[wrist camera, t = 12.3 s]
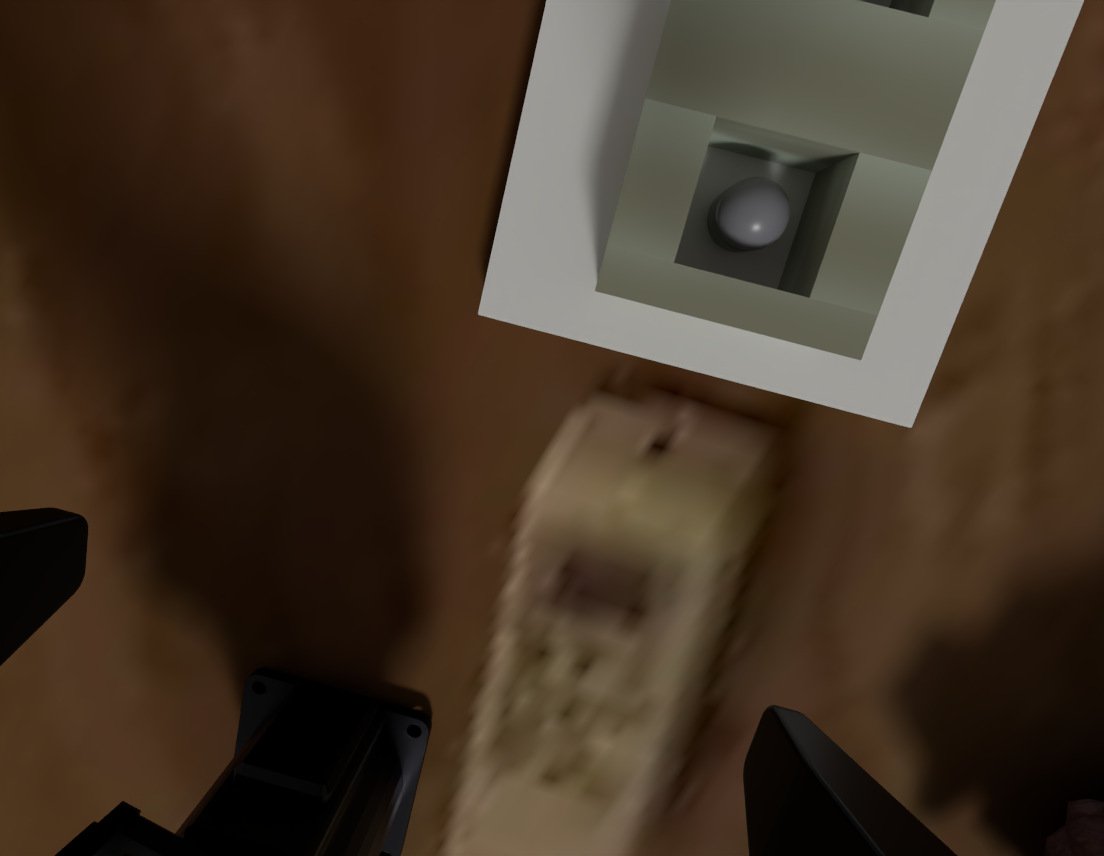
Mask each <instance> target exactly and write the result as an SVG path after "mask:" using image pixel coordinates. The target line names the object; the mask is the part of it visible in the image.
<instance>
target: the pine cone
mask: <svg viewBox="0 0 1104 856" xmlns="http://www.w3.org/2000/svg"><path fill="white" fill-rule="evenodd" d="M1045 856H1104V802H1102V801H1097V800H1092V799H1083V800H1077V801H1071V802H1068V807H1067V816H1066V825H1065V826H1063V827H1061V828H1059V829H1058V830H1057V831H1056V832H1054V833H1053V834H1051V835H1050V836H1048V837H1047V838H1046V845H1045Z"/></svg>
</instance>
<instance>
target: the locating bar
mask: <svg viewBox="0 0 1104 856" xmlns="http://www.w3.org/2000/svg"><path fill="white" fill-rule="evenodd" d="M995 2H996V0H891V3H890V6H889V8H888V7H884V6H880V5H876V4H872V3H868V2H864V1H859V0H671V3H670V6H669V10H668V14H667V18H666V22H665V25H664V29H663V33H662V37H661V41H660V44H659V48H658V52H657V56H656V60H655V64H654V67H653V71H652V75H651V79H650V83H649V86H648V90H647V94H646V98H645V102H644V105H643V109H642V113H641V117H640V121H639V124H638V128H637V132H636V136H635V140H634V144H633V147H632V151H631V155H630V159H629V163H628V166H627V170H626V174H625V178H624V182H623V185H622V189H621V193H620V197H619V201H618V204H617V208H616V212H615V216H614V220H613V224H612V227H611V231H610V235H609V239H608V243H607V246H606V250H605V254H604V258H603V262H602V265H601V269H600V273H599V277H598V281H597V285H596V288H595V291H596V292H600V293H604V294H608V295H612V296H616V297H619V298H623V299H627V300H631V301H635V302H639V303H642V304H646V305H650V306H654V307H658V308H662V309H665V310H669V311H673V312H677V313H681V314H685V315H688V316H692V317H696V318H700V319H704V320H708V321H711V322H715V323H719V324H723V325H727V326H731V327H734V328H738V329H742V330H746V331H750V332H754V333H757V334H761V335H765V336H769V337H773V338H777V339H780V340H784V341H788V342H792V343H796V344H800V345H803V346H807V347H811V348H815V349H819V350H823V351H826V352H830V353H834V354H838V355H842V356H846V357H849V358H853V359H857V360H861V359H862V357H863V354H864V351H865V349H866V346H867V343H868V341H869V338H870V335H871V333H872V330H873V327H874V325H875V322H876V319H877V317H878V314H879V311H880V309H881V306H882V303H883V301H884V298H885V295H886V293H887V290H888V287H889V285H890V282H891V279H892V277H893V274H894V271H895V269H896V266H897V263H898V261H899V258H900V255H901V253H902V250H903V247H904V245H905V242H906V239H907V236H908V234H909V231H910V228H911V226H912V223H913V220H914V218H915V215H916V212H917V210H918V207H919V204H920V202H921V199H922V196H923V194H924V191H925V188H926V186H927V183H928V180H929V178H930V175H931V172H932V170H933V167H934V164H935V162H936V159H937V156H938V154H939V151H940V148H941V146H942V143H943V140H944V138H945V135H946V132H947V130H948V127H949V124H950V122H951V119H952V116H953V114H954V111H955V108H956V106H957V103H958V100H959V98H960V95H961V92H962V90H963V87H964V84H965V82H966V79H967V76H968V74H969V71H970V68H971V66H972V63H973V60H974V58H975V55H976V52H977V50H978V47H979V44H980V42H981V39H982V36H983V34H984V31H985V28H986V26H987V23H988V20H989V18H990V15H991V12H992V10H993V7H994V4H995ZM708 146H711V147H715V148H719V149H723V150H727V151H731V152H735V153H739V154H743V155H746V156H750V157H754V158H758V159H762V160H766V161H770V162H774V163H778V164H782V165H786V166H790V167H794V168H798V169H802V170H806V171H810V172H814V173H816V174H815V177H814V180H813V183H812V186H811V189H810V192H809V195H808V198H807V201H806V204H805V207H804V210H803V213H802V216H801V219H800V222H799V225H798V228H797V231H796V234H795V237H794V240H793V243H792V246H791V249H790V252H789V255H788V258H787V261H786V264H785V267H784V270H783V273H782V276H781V279H780V282H779V285H778V288H777V289H773V288H769V287H766V286H762V285H758V284H754V283H750V282H746V281H742V280H738V279H735V278H731V277H727V276H723V275H719V274H715V273H711V272H708V271H704V270H700V269H696V268H692V267H688V266H684V265H681V264H677V263H674V261H675V258H676V254H677V251H678V247H679V244H680V240H681V237H682V233H683V230H684V226H685V223H686V220H687V216H688V213H689V209H690V206H691V202H692V199H693V195H694V192H695V189H696V185H697V182H698V178H699V175H700V171H701V168H702V164H703V161H704V157H705V154H706V151H707V147H708Z"/></svg>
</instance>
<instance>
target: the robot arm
mask: <svg viewBox="0 0 1104 856" xmlns="http://www.w3.org/2000/svg"><path fill="white" fill-rule="evenodd" d="M87 539H88V524H87V521H86V519H85V518H84V517H83V516H81V515H79V514H76V513H72V512H68V511H65V510H61V509H58V508H39V509H29V510H18V511H8V512H0V666H1V665H2V664H3V663H4V662H5V661H6V660H7V659H8V658H9V657H10V656H11V655H12V654H13V653H14V652H15V651H16V650H17V649H18V648H19V647H20V646H21V645H22V644H23V643H24V642H25V641H26V640H27V639H28V638H29V637H30V636H31V635H32V634H33V633H35V632H36V631H37V630H38V629H39V628H40V627H41V626H42V625H43V624H44V623H45V622H46V621H47V620H48V619H49V618H50V617H51V616H52V615H53V614H54V613H55V612H56V611H57V610H58V609H59V608H60V607H61V606H62V605H63V604H64V603H65V602H66V601H67V600H68V599H69V598H70V597H71V596H72V595H73V594H74V593H75V592H76V591H77V589H78V588H79V587H80V585H81V583H82V581H83V578H84V575H85V567H86V553H87ZM258 681H260V682H262V683H264V685H265V686H266V687H263V686H261V685H260V684H259V682H258ZM411 725H417V726H419V727H420V729H421V730H416V729H414V728H413V727H412V726H411ZM431 727H432V722H431V720H430V718H429V717H428V716H427V715H426V714H425V713H423V712H421V711H417V710H414V709H410V708H407V707H403V706H399V705H396V704H392V703H389V702H385V701H382V700H378V699H374V698H371V697H367V696H364V695H360V694H356V693H353V692H349V691H346V690H342V689H339V688H335V687H331V686H328V685H324V684H321V683H317V682H313V681H310V680H306V679H303V678H299V677H296V676H292V675H288V674H285V673H281V672H278V671H274V670H270V669H267V668H260V669H257V670H255V671H254V672H253V673H252V674H251V675H250V676H249V678H248V679H247V680H246V683H245V688H244V694H243V701H242V708H241V714H240V721H239V728H238V734H237V741H236V748H235V754H234V758H233V759H232V761H231V762H230V763H229V765H228V766H227V767H226V769H225V770H224V771H223V772H222V774H221V775H220V776H219V778H218V779H217V780H216V781H215V783H214V784H213V785H212V787H211V788H210V789H209V790H208V792H207V793H206V794H205V796H204V797H203V798H202V800H201V801H200V802H199V803H198V805H197V806H196V807H195V809H194V810H193V811H192V812H191V814H190V815H189V816H188V818H187V819H186V820H185V822H184V823H183V824H182V825H181V827H180V828H179V829H178V831H177V832H176V833H175V834H174V833H172V832H170V831H169V830H167V829H165V828H163V827H161V826H159V825H157V824H156V823H154V822H152V821H150V820H148V819H146V818H145V817H143V816H141V815H139V814H140V812H141V810H139V809H137V808H135V807H133V806H131V805H130V804H128V803H126V802H124V801H122V802H121V803H120V804H119V805H118V806H117V807H115V808H114V809H113V810H112V811H111V812H110V813H109V814H107V815H106V816H105V817H104V818H103V819H102V820H101V821H100V822H98V823H97V822H95V821H94V822H93V823H91V824H90V825H89V826H88V827H87V828H86V829H84V830H83V831H82V832H81V833H80V834H79V835H78V836H76V837H75V838H74V839H73V840H72V841H71V842H70V843H69V844H67V845H66V846H65V847H64V848H63V849H62V850H61V851H59V852H58V853H57V854H56V855H55V856H400V855H401V853H402V849H403V845H404V841H405V836H406V832H407V828H408V824H409V820H410V815H411V811H412V807H413V803H414V799H415V795H416V790H417V786H418V782H419V778H420V774H421V769H422V765H423V761H424V757H425V753H426V748H427V744H428V740H429V736H430V732H431ZM743 782H744V795H745V809H746V822H747V835H748V848H749V856H957V855H956V854H955V853H954V852H953V851H952V850H951V849H950V848H949V847H947V846H946V845H945V844H944V843H943V842H942V841H941V840H940V839H939V838H938V837H937V836H935V835H934V834H933V833H932V832H931V831H930V830H929V829H928V828H927V827H926V826H925V825H924V824H922V823H921V822H920V821H919V820H918V819H917V818H916V817H915V816H914V815H913V814H912V813H910V812H909V811H908V810H907V809H906V808H905V807H904V806H903V805H902V804H901V803H900V802H899V801H897V800H896V799H895V798H894V797H893V796H892V795H891V794H890V793H889V792H888V791H887V790H885V789H884V788H883V787H882V786H881V785H880V784H879V783H878V782H877V781H876V780H875V779H874V778H872V777H871V776H870V775H869V774H868V773H867V772H866V771H865V770H864V769H863V768H862V767H860V766H859V765H858V764H857V763H856V762H855V761H854V760H853V759H852V758H851V757H850V756H848V755H847V754H846V753H845V752H844V751H843V750H842V749H841V748H840V747H839V746H838V745H837V744H835V743H834V742H833V741H832V740H831V739H830V738H829V737H828V736H827V735H826V734H825V733H823V732H822V731H821V730H820V729H819V728H818V727H817V726H816V725H815V724H814V723H813V722H812V721H810V720H809V719H808V718H807V717H806V716H805V715H804V714H802V713H800V712H798V711H794V710H791V709H787V708H783V707H780V706H776V705H771V706H769V707H767V708H766V710H765V711H764V712H763V714H762V717H761V719H760V722H759V724H758V727H757V730H756V732H755V735H754V737H753V740H752V743H751V745H750V748H749V750H748V753H747V755H746V758H745V763H744V769H743ZM386 852H388V853H386Z"/></svg>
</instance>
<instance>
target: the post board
mask: <svg viewBox="0 0 1104 856" xmlns="http://www.w3.org/2000/svg"><path fill="white" fill-rule="evenodd" d="M859 1H864V2H868V3H872V4H876V5H880V6H884V7H888V8H889V6H890V3H891V0H859ZM1083 2H1084V0H996V2H995V4H994V7H993V10H992V12H991V15H990V18H989V20H988V23H987V26H986V28H985V31H984V34H983V36H982V39H981V42H980V44H979V47H978V50H977V52H976V55H975V58H974V60H973V63H972V66H971V68H970V71H969V74H968V76H967V79H966V82H965V84H964V87H963V90H962V92H961V95H960V98H959V100H958V103H957V106H956V108H955V111H954V114H953V116H952V119H951V122H950V124H949V127H948V130H947V132H946V135H945V138H944V140H943V143H942V146H941V148H940V151H939V154H938V156H937V159H936V162H935V164H934V167H933V170H932V172H931V175H930V178H929V180H928V183H927V186H926V188H925V191H924V194H923V196H922V199H921V202H920V204H919V207H918V210H917V212H916V215H915V218H914V220H913V223H912V226H911V228H910V231H909V234H908V236H907V239H906V242H905V245H904V247H903V250H902V253H901V255H900V258H899V261H898V263H897V266H896V269H895V271H894V274H893V277H892V279H891V282H890V285H889V287H888V290H887V293H886V295H885V298H884V301H883V303H882V306H881V309H880V311H879V314H878V317H877V319H876V322H875V325H874V327H873V330H872V333H871V335H870V338H869V341H868V343H867V346H866V349H865V351H864V354H863V357H862V359H861V360H857V359H853V358H849V357H846V356H842V355H838V354H834V353H830V352H826V351H823V350H819V349H815V348H811V347H807V346H803V345H800V344H796V343H792V342H788V341H784V340H780V339H777V338H773V337H769V336H765V335H761V334H757V333H754V332H750V331H746V330H742V329H738V328H734V327H731V326H727V325H723V324H719V323H715V322H711V321H708V320H704V319H700V318H696V317H692V316H688V315H685V314H681V313H677V312H673V311H669V310H665V309H662V308H658V307H654V306H650V305H646V304H642V303H639V302H635V301H631V300H627V299H623V298H619V297H616V296H612V295H608V294H604V293H600V292H596V291H595V288H596V285H597V281H598V277H599V273H600V269H601V265H602V262H603V258H604V254H605V250H606V246H607V243H608V239H609V235H610V231H611V227H612V224H613V220H614V216H615V212H616V208H617V204H618V201H619V197H620V193H621V189H622V185H623V182H624V178H625V174H626V170H627V166H628V163H629V159H630V155H631V151H632V147H633V144H634V140H635V136H636V132H637V128H638V124H639V121H640V117H641V113H642V109H643V105H644V102H645V98H646V94H647V90H648V86H649V83H650V79H651V75H652V71H653V67H654V64H655V60H656V56H657V52H658V48H659V44H660V41H661V37H662V33H663V29H664V25H665V22H666V18H667V14H668V10H669V6H670V3H671V0H546V5H545V9H544V14H543V18H542V23H541V28H540V32H539V37H538V41H537V46H536V51H535V55H534V60H533V64H532V69H531V73H530V78H529V83H528V87H527V92H526V96H525V101H524V105H523V110H522V115H521V119H520V124H519V128H518V133H517V137H516V142H515V147H514V151H513V156H512V160H511V165H510V170H509V174H508V179H507V183H506V188H505V192H504V197H503V202H502V206H501V211H500V215H499V220H498V224H497V229H496V234H495V238H494V243H493V247H492V252H491V256H490V261H489V266H488V270H487V275H486V279H485V284H484V289H483V293H482V298H481V302H480V307H479V311H478V315H482V316H485V317H489V318H493V319H497V320H501V321H504V322H508V323H512V324H516V325H520V326H524V327H527V328H531V329H535V330H539V331H543V332H546V333H550V334H554V335H558V336H562V337H566V338H569V339H573V340H577V341H581V342H585V343H588V344H592V345H596V346H600V347H604V348H608V349H611V350H615V351H619V352H623V353H627V354H630V355H634V356H638V357H642V358H646V359H650V360H653V361H657V362H661V363H665V364H669V365H672V366H676V367H680V368H684V369H688V370H692V371H695V372H699V373H703V374H707V375H711V376H714V377H718V378H722V379H726V380H730V381H734V382H737V383H741V384H745V385H749V386H753V387H756V388H760V389H764V390H768V391H772V392H776V393H779V394H783V395H787V396H791V397H795V398H798V399H802V400H806V401H810V402H814V403H818V404H821V405H825V406H829V407H833V408H837V409H840V410H844V411H848V412H852V413H856V414H860V415H863V416H867V417H871V418H875V419H879V420H882V421H886V422H890V423H894V424H898V425H902V426H905V427H909V428H912V425H913V423H914V420H915V418H916V415H917V413H918V411H919V408H920V406H921V403H922V401H923V398H924V396H925V393H926V391H927V388H928V386H929V383H930V381H931V378H932V376H933V373H934V371H935V368H936V366H937V363H938V361H939V359H940V356H941V354H942V351H943V349H944V346H945V344H946V341H947V339H948V336H949V334H950V331H951V329H952V326H953V324H954V321H955V319H956V316H957V314H958V311H959V309H960V307H961V304H962V302H963V299H964V297H965V294H966V292H967V289H968V287H969V284H970V282H971V279H972V277H973V274H974V272H975V269H976V267H977V264H978V262H979V259H980V257H981V255H982V252H983V250H984V247H985V245H986V242H987V240H988V237H989V235H990V232H991V230H992V227H993V225H994V222H995V220H996V217H997V215H998V212H999V210H1000V207H1001V205H1002V203H1003V200H1004V198H1005V195H1006V193H1007V190H1008V188H1009V185H1010V183H1011V180H1012V178H1013V175H1014V173H1015V170H1016V168H1017V165H1018V163H1019V160H1020V158H1021V155H1022V153H1023V151H1024V148H1025V146H1026V143H1027V141H1028V138H1029V136H1030V133H1031V131H1032V128H1033V126H1034V123H1035V121H1036V118H1037V116H1038V113H1039V111H1040V108H1041V106H1042V103H1043V101H1044V99H1045V96H1046V94H1047V91H1048V89H1049V86H1050V84H1051V81H1052V79H1053V76H1054V74H1055V71H1056V69H1057V66H1058V64H1059V61H1060V59H1061V56H1062V54H1063V51H1064V49H1065V47H1066V44H1067V42H1068V39H1069V37H1070V34H1071V32H1072V29H1073V27H1074V24H1075V22H1076V19H1077V17H1078V14H1079V12H1080V9H1081V7H1082V4H1083ZM815 174H816V173H814V172H810V171H806V170H802V169H798V168H794V167H790V166H786V165H782V164H778V163H774V162H770V161H766V160H762V159H758V158H754V157H750V156H746V155H743V154H739V153H735V152H731V151H727V150H723V149H719V148H715V147H711V146H708V147H707V151H706V154H705V157H704V161H703V164H702V168H701V171H700V175H699V178H698V182H697V185H696V189H695V192H694V195H693V199H692V202H691V206H690V209H689V213H688V216H687V220H686V223H685V226H684V230H683V233H682V237H681V240H680V244H679V247H678V251H677V254H676V258H675V261H674V263H677V264H681V265H684V266H688V267H692V268H696V269H700V270H704V271H708V272H711V273H715V274H719V275H723V276H727V277H731V278H735V279H738V280H742V281H746V282H750V283H754V284H758V285H762V286H766V287H769V288H773V289H777V288H778V285H779V282H780V279H781V276H782V273H783V270H784V267H785V264H786V261H787V258H788V255H789V252H790V249H791V246H792V243H793V240H794V237H795V234H796V231H797V228H798V225H799V222H800V219H801V216H802V213H803V210H804V207H805V204H806V201H807V198H808V195H809V192H810V189H811V186H812V183H813V180H814V177H815Z"/></svg>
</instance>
